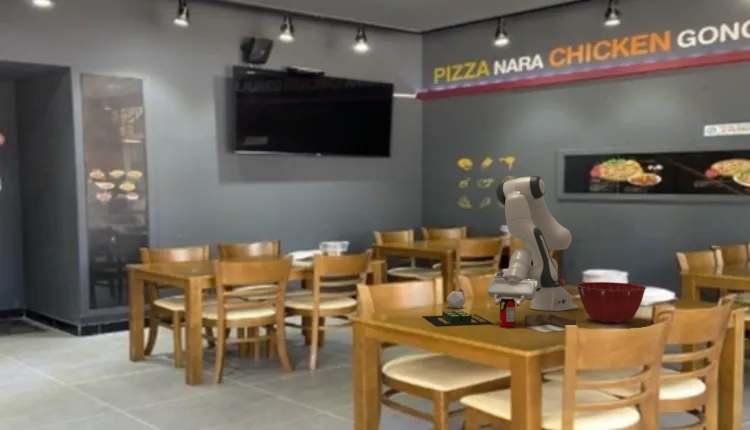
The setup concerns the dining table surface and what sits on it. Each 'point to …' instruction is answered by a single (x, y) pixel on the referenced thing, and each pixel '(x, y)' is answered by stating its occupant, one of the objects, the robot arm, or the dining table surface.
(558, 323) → the corner fence
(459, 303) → the die
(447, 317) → the sushi
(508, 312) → the beverage can
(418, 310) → the dining table surface
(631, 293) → the mixing bowl
